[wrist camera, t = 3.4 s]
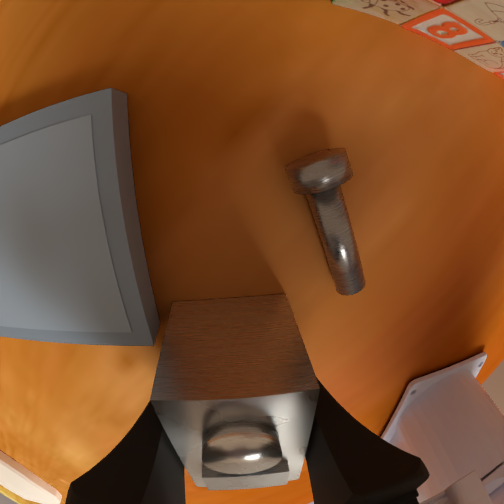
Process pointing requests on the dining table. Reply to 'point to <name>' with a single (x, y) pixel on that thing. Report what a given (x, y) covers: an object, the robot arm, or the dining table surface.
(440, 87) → the dining table surface
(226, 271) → the dining table surface
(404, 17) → the stack of blocks
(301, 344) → the housing
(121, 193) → the stand
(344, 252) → the loose bolt
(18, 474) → the decorative plate
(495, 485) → the robot arm
